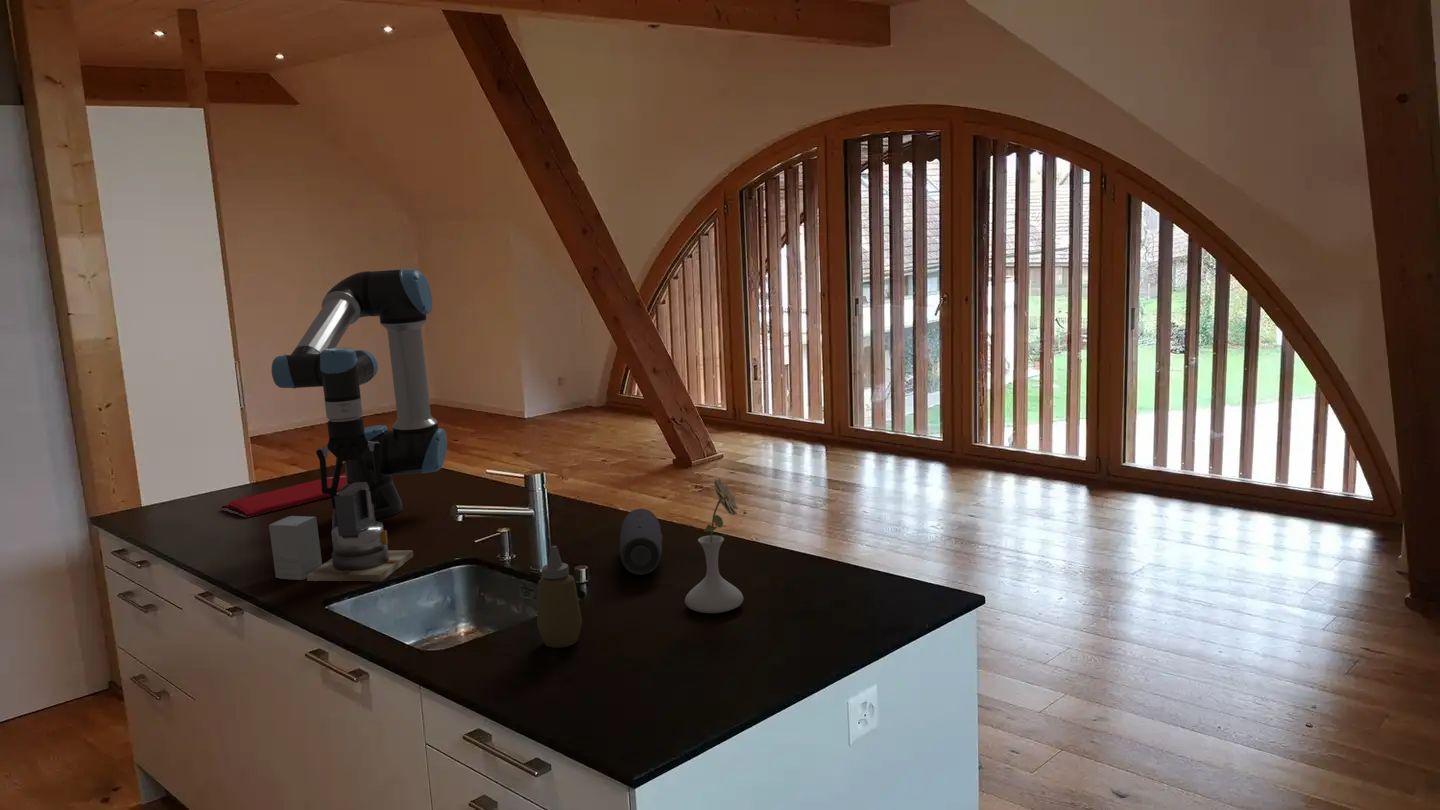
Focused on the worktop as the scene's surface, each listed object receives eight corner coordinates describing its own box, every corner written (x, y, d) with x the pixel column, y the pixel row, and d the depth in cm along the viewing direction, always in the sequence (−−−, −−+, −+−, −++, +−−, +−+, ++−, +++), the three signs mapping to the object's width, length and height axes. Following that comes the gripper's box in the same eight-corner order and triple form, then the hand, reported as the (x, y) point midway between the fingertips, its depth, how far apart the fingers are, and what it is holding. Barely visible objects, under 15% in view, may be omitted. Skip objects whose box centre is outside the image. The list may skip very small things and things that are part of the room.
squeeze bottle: (540, 635, 196) (532, 541, 193) (584, 632, 197) (577, 538, 194) (536, 653, 188) (528, 555, 185) (582, 649, 189) (575, 552, 186)
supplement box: (324, 570, 241) (317, 516, 239) (301, 581, 234) (294, 525, 232) (297, 568, 244) (291, 514, 241) (274, 578, 237) (267, 524, 234)
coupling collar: (325, 558, 234) (318, 496, 232) (344, 542, 246) (338, 483, 243) (378, 556, 234) (372, 494, 231) (395, 539, 246) (389, 480, 243)
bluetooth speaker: (664, 579, 224) (662, 533, 222) (620, 582, 223) (617, 536, 222) (662, 546, 246) (660, 504, 245) (622, 549, 246) (619, 507, 244)
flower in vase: (724, 622, 198) (717, 492, 194) (673, 613, 204) (666, 486, 200) (759, 599, 209) (753, 475, 205) (710, 591, 215) (703, 471, 211)
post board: (344, 556, 250) (342, 538, 249) (413, 556, 248) (411, 537, 247) (307, 581, 234) (305, 562, 233) (381, 581, 231) (378, 561, 230)
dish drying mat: (220, 512, 299) (219, 499, 298) (353, 480, 329) (352, 469, 329) (247, 520, 289) (245, 507, 288) (381, 487, 319) (380, 475, 318)
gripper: (300, 426, 228) (312, 530, 232) (390, 416, 235) (401, 518, 239) (299, 420, 235) (311, 522, 239) (387, 411, 241) (397, 510, 245)
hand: (356, 520), depth 239 cm, fingers closed on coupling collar, 6 cm apart
